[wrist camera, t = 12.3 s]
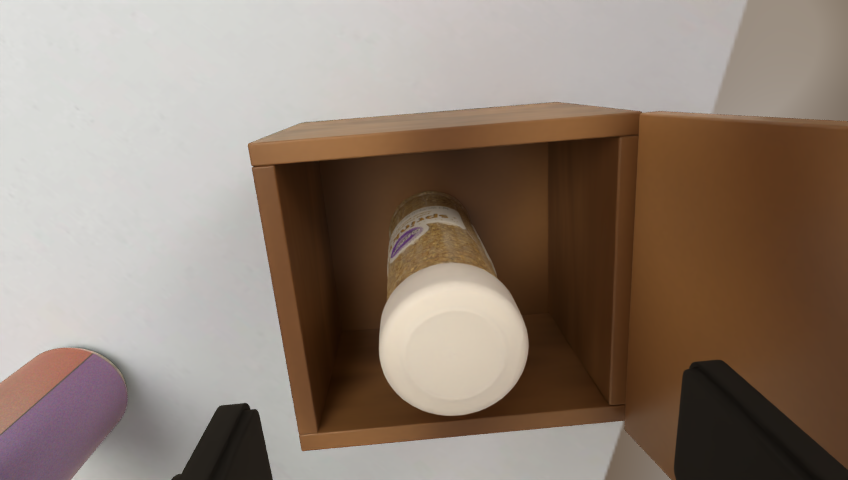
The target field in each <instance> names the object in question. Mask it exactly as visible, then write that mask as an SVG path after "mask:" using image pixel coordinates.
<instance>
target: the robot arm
mask: <svg viewBox="0 0 848 480" xmlns="http://www.w3.org/2000/svg"><path fill="white" fill-rule="evenodd" d="M674 475H675V478H676V480H848V469H846V468H845V467H844V466H843V465H842V464H841V463H840V462H838V461H837V460H836V459H835V458H834V457H833V456H832V455H830V454H829V453H828V452H827V451H826V450H825V449H824V448H822V447H821V446H820V445H819V444H818V443H817V442H816V441H814V440H813V439H812V438H811V437H810V436H809V435H808V434H806V433H805V432H804V431H803V430H802V429H801V428H800V427H798V426H797V425H796V424H795V423H794V422H793V421H792V420H790V419H789V418H788V417H787V416H786V415H785V414H784V413H782V412H781V411H780V410H779V409H778V408H777V407H776V406H774V405H773V404H772V403H771V402H770V401H769V400H768V399H766V398H765V397H764V396H763V395H762V394H761V393H760V392H758V391H757V390H756V389H755V388H754V387H753V386H752V385H750V384H749V383H748V382H747V381H746V380H745V379H744V378H742V377H741V376H740V375H739V374H738V373H737V372H736V371H735V370H733V369H732V368H731V367H730V366H729V365H728V364H727V363H725V362H724V361H722V360H708V361H697V362H693V363H691V365H690V367H689V369H686V370H684V372H683V376H682V386H681V396H680V407H679V417H678V428H677V438H676V448H675V459H674ZM172 480H273V479H272V474H271V469H270V464H269V460H268V455H267V450H266V445H265V440H264V436H263V431H262V426H261V421H260V416H259V413H258V411H257V410H256V409H253V410H250V407H249V405H248V404H247V403H243V404H232V405H221V406H219V407H218V408H217V410H216V412H215V413H214V415H213V417H212V419H211V421H210V423H209V424H208V426H207V428H206V430H205V432H204V434H203V435H202V437H201V439H200V441H199V443H198V445H197V446H196V448H195V450H194V452H193V454H192V456H191V457H190V459H189V461H188V463H187V465H186V466H185V468H184V470H183V472H182V474H178V475H176V476H174V477H173V478H172Z"/></svg>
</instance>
